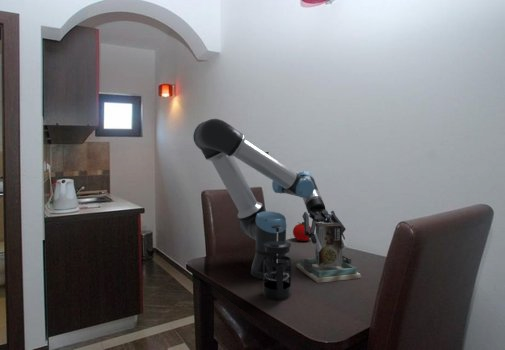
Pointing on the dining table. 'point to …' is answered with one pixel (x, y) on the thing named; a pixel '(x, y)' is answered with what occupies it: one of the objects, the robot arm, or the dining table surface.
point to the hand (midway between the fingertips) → (332, 248)
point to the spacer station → (329, 270)
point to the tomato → (300, 232)
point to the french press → (277, 270)
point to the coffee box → (329, 244)
